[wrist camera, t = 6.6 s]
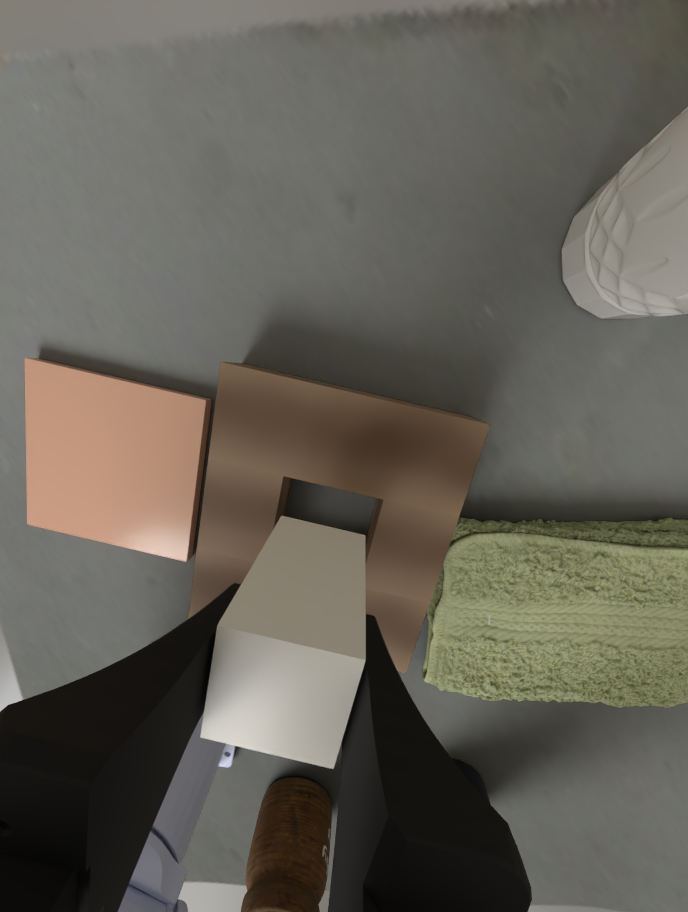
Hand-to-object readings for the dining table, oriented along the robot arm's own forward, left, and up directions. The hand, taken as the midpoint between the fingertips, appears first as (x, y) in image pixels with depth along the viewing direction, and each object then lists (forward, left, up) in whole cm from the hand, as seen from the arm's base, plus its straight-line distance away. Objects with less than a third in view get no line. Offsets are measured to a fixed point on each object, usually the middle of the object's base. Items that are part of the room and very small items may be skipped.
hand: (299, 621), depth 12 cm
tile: (0, +14, -10) cm, 17 cm away
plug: (0, 0, -4) cm, 4 cm away
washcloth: (-3, -16, -11) cm, 20 cm away
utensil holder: (-26, -3, -10) cm, 28 cm away
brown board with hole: (0, 0, -10) cm, 10 cm away
